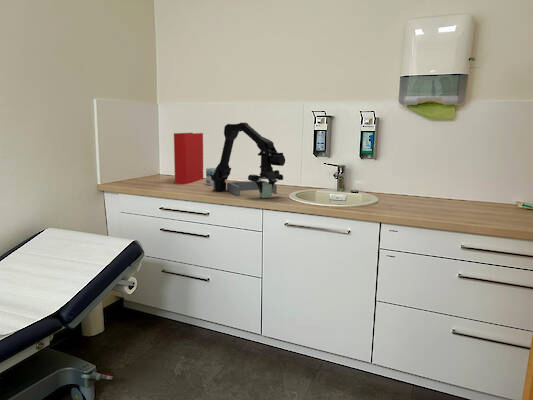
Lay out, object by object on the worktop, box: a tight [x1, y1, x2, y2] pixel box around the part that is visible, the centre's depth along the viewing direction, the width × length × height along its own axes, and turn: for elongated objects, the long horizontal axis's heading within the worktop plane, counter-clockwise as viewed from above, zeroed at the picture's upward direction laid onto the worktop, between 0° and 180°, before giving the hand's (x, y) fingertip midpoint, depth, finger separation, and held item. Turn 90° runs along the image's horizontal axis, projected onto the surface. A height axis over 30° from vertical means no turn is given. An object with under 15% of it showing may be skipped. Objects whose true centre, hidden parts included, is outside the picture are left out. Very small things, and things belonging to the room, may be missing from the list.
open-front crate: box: [226, 180, 278, 197], centre depth 228 cm, size 24×17×5 cm
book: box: [173, 132, 204, 185], centre depth 261 cm, size 27×8×32 cm, turn 164°
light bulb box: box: [205, 166, 217, 187], centre depth 251 cm, size 11×7×11 cm, turn 143°
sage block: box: [258, 183, 273, 199], centre depth 211 cm, size 5×5×7 cm
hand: (265, 193), depth 212 cm, fingers closed on sage block, 5 cm apart
